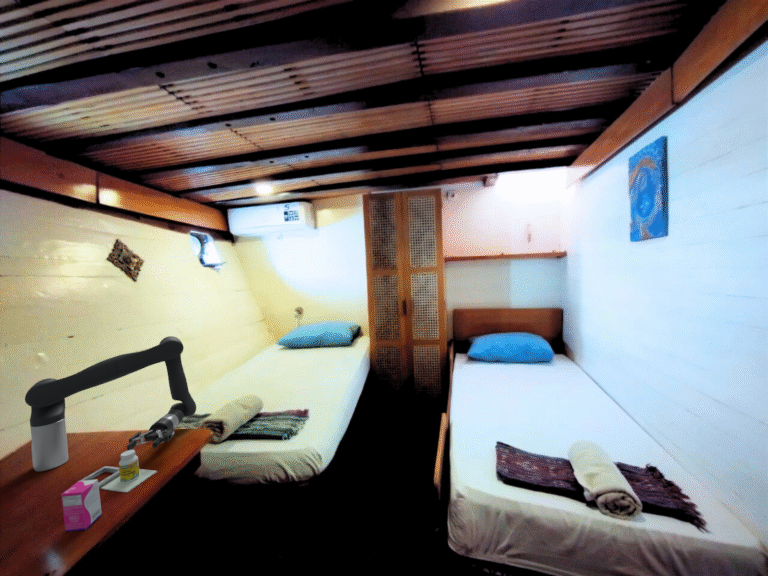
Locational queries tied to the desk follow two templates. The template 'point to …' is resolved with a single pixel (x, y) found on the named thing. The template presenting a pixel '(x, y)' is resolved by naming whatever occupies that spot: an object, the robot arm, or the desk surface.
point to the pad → (126, 487)
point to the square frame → (102, 470)
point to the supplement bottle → (128, 466)
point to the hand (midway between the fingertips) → (141, 447)
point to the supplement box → (81, 505)
